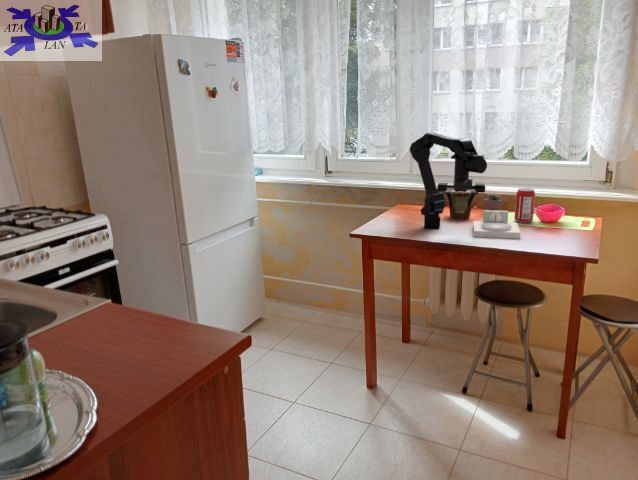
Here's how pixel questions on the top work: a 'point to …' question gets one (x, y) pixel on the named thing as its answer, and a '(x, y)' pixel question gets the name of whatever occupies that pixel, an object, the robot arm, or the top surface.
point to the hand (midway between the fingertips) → (460, 208)
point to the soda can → (524, 205)
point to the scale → (496, 225)
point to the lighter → (493, 203)
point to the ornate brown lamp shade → (460, 202)
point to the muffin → (459, 216)
